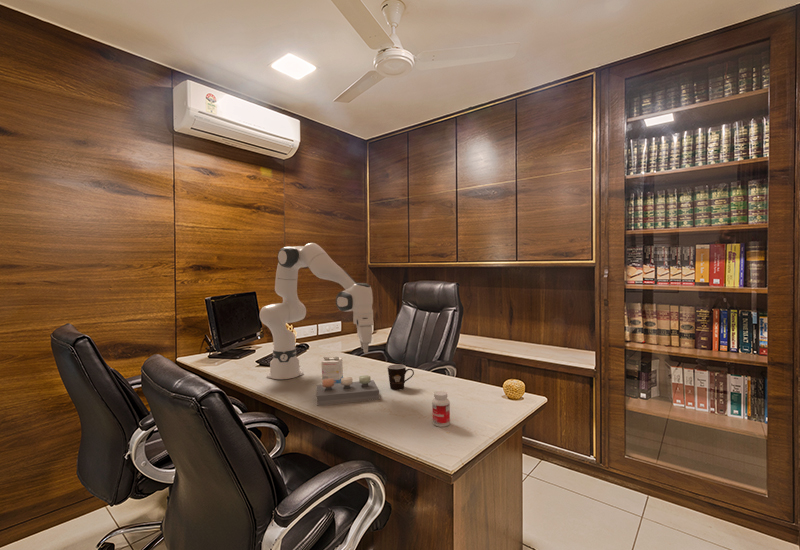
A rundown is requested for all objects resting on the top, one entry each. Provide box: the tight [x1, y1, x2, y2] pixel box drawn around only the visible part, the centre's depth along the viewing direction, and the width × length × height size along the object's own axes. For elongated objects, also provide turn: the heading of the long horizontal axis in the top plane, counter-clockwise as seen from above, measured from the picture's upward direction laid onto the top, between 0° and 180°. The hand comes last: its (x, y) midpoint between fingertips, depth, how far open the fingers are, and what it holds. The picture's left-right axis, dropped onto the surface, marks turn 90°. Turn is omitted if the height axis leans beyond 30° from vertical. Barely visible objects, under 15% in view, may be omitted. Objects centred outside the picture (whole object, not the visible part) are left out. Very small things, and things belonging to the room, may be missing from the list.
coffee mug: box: [387, 363, 415, 391], centre depth 173 cm, size 12×9×10 cm
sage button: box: [358, 375, 371, 387], centre depth 165 cm, size 5×5×4 cm
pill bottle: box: [431, 390, 451, 428], centre depth 132 cm, size 6×6×11 cm
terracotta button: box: [321, 379, 334, 391], centre depth 161 cm, size 5×5×4 cm
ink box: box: [321, 356, 344, 384], centre depth 184 cm, size 9×8×13 cm
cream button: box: [341, 376, 354, 389], centre depth 163 cm, size 5×5×4 cm
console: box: [316, 379, 380, 407], centre depth 163 cm, size 15×26×4 cm, turn 103°
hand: (364, 350), depth 165 cm, fingers open, 8 cm apart
